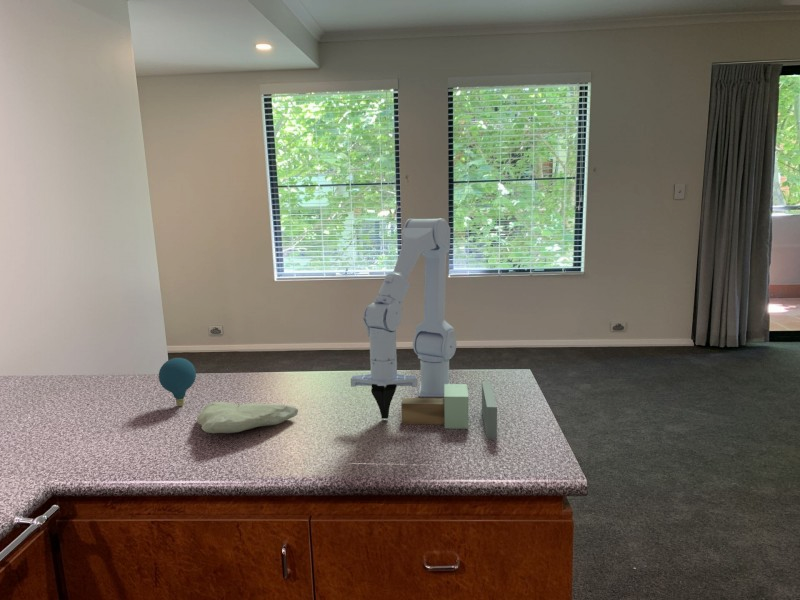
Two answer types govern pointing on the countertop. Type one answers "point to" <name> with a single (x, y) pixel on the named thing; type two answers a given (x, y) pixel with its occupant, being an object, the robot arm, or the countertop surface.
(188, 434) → the countertop surface
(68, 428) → the countertop surface
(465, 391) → the block
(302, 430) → the countertop surface
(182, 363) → the light bulb
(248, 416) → the rock
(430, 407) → the bar
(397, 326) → the robot arm
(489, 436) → the board
